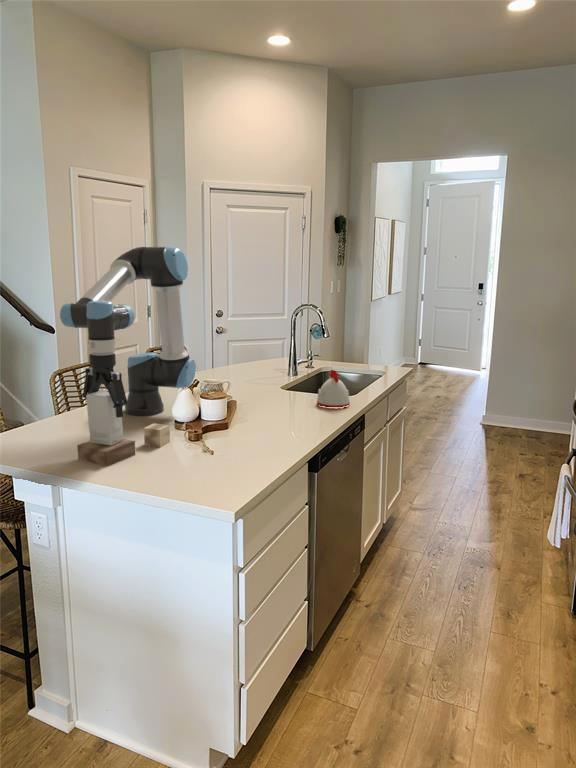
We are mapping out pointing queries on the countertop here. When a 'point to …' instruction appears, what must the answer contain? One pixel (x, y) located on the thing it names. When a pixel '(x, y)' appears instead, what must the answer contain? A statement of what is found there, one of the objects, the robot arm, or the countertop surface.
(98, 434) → the skincare box
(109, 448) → the walnut pedestal
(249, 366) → the countertop surface
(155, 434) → the oak cube
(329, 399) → the kitchen timer
